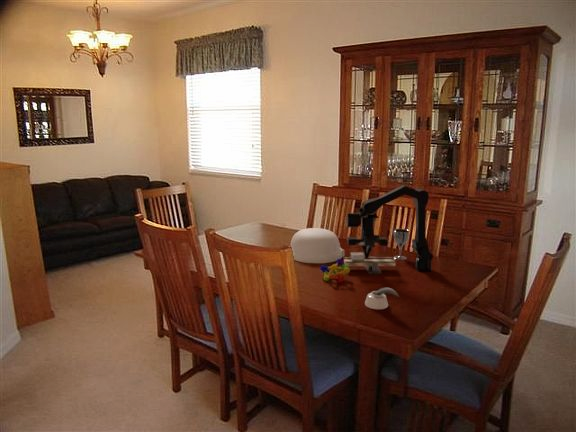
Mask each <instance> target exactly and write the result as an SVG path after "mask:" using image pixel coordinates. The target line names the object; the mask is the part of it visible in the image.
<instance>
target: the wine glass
mask: <svg viewBox="0 0 576 432" xmlns="http://www.w3.org/2000/svg"><path fill="white" fill-rule="evenodd" d="M409 237H410V230H409V229H405V228H394V229H393V240H394V242H395V243H396V245H397V246H398V249H399V254H398V255H394V256H393V260H397V261H405V260H407V257H406V256H403V255H402V249H403V246H405V244H407V242H408V240H409Z"/></svg>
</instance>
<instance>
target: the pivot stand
mask: <svg viewBox="0 0 576 432" xmlns="http://www.w3.org/2000/svg"><path fill="white" fill-rule="evenodd" d="M368 257H375V256H374V255H369V256H368ZM364 267H365V269H366V271H367V273H368V274H369V275H370V274H371V275H377V274H378V275H379V274H382V270H381V268H380V266H378V262H372V266H364Z"/></svg>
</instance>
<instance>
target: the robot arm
mask: <svg viewBox="0 0 576 432" xmlns="http://www.w3.org/2000/svg"><path fill="white" fill-rule="evenodd" d="M405 195H406V196H408V197H410V198H412V200H413V203H414V206H415V238H414V239H413V238H412V239H411V243H412V244H411V248H412V249H413V251H414V252H415V253H416V259H415V264H414V265H415V269H416V270H417V271H418V272H432V271H433V270H432V261H433V258H434V255H433V254H432V253H431V252H430V246H429V243H428V240H427V236H426V235H427V233H426V219H427V218H426V217H427V216H426V208H427V205H428V204H429V198H430V194H429V193H428V192H427V191H426V190H424V189H422V188H412V187H410V186H408V185H404V184H402V185H400V186H399V187H397V188H394V189H393V190H390V191H388V192H386V193H384V194H382V195H381V196H378V197H373V198H369V199H366V200H364V201H363V202H362V203H361V207H360V208H359V209H358V211H357V212H347V213H346V214H347V215H346V217H345V226H346V228H359V227H360V226H361V235H360V236H361V237H360V238H357V237H355V236H348V237H347V239H346V244H347V245H348V246H356V245H357V244H358V245H359V247H361V248H362V250H363V254H364V257H365V258H368V257H369V256H370V253H371V251H372V249H373V248H375V247H376V244H379V245H380V246H388V245H389V242H388V239H387V238H386V237H385V236H380V235H378V234H375V232H374V230H375V219H379V216H378V215H377V214H376V212H377V211H378V210H379V209H381V208H382V207H383V206H384V205H386V204H388V203H390V202H392V201H395V200H396V199H399V198H401V197H403V196H405Z"/></svg>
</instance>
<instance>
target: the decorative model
mask: <svg viewBox="0 0 576 432" xmlns="http://www.w3.org/2000/svg"><path fill="white" fill-rule="evenodd" d="M340 265H341V266H340ZM319 269H320V270H321V271H322V272H323V275H324V276H323V280H324V281H325V282H327V281H329V280H337V281H338V283H340V284H342V283H343V282H344V277H346V275H347V274H349V273H350V271H351V269H350V266H345V264H344V262H343V260H342V258H341V259H337V261H336V263H334V264H332V265H330V266H326V265H321V266H320V268H319ZM329 269H330V270H329ZM327 273H328V274H327Z"/></svg>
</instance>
